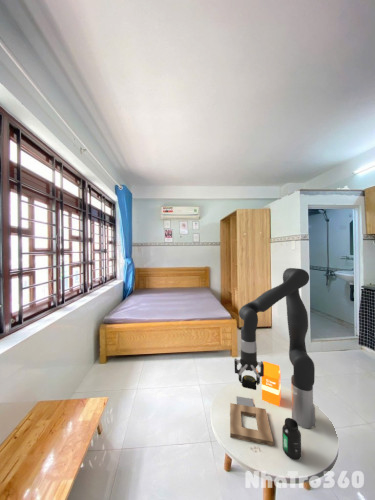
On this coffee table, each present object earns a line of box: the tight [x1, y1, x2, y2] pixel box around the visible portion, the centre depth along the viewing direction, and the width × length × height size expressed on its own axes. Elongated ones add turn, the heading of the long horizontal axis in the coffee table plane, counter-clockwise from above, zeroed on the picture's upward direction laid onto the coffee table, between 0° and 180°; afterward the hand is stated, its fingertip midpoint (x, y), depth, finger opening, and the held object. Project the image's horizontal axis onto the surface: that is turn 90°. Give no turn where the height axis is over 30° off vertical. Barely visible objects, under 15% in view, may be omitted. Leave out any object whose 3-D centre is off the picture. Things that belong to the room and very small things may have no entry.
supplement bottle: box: [281, 417, 302, 461], centre depth 79 cm, size 7×7×12 cm
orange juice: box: [261, 360, 282, 407], centre depth 109 cm, size 8×9×20 cm
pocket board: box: [229, 402, 274, 447], centre depth 92 cm, size 18×18×2 cm
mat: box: [235, 395, 255, 407], centre depth 105 cm, size 9×8×1 cm
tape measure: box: [241, 374, 257, 391], centre depth 94 cm, size 7×7×4 cm
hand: (249, 382), depth 93 cm, fingers closed on tape measure, 7 cm apart
